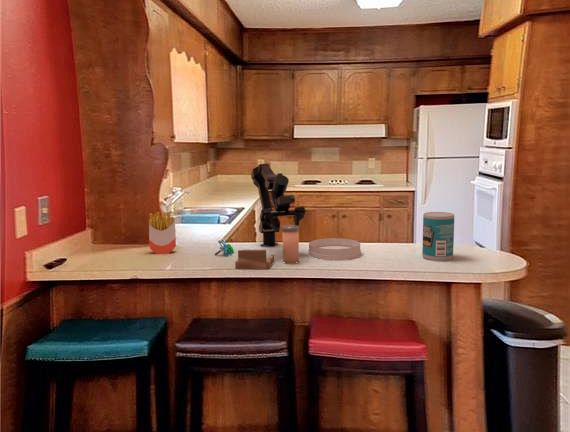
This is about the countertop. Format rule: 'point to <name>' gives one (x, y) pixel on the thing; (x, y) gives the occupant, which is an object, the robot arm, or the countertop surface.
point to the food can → (438, 236)
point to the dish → (334, 249)
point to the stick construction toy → (227, 247)
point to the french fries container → (162, 233)
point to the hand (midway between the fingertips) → (287, 230)
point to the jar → (290, 243)
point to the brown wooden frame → (253, 259)
